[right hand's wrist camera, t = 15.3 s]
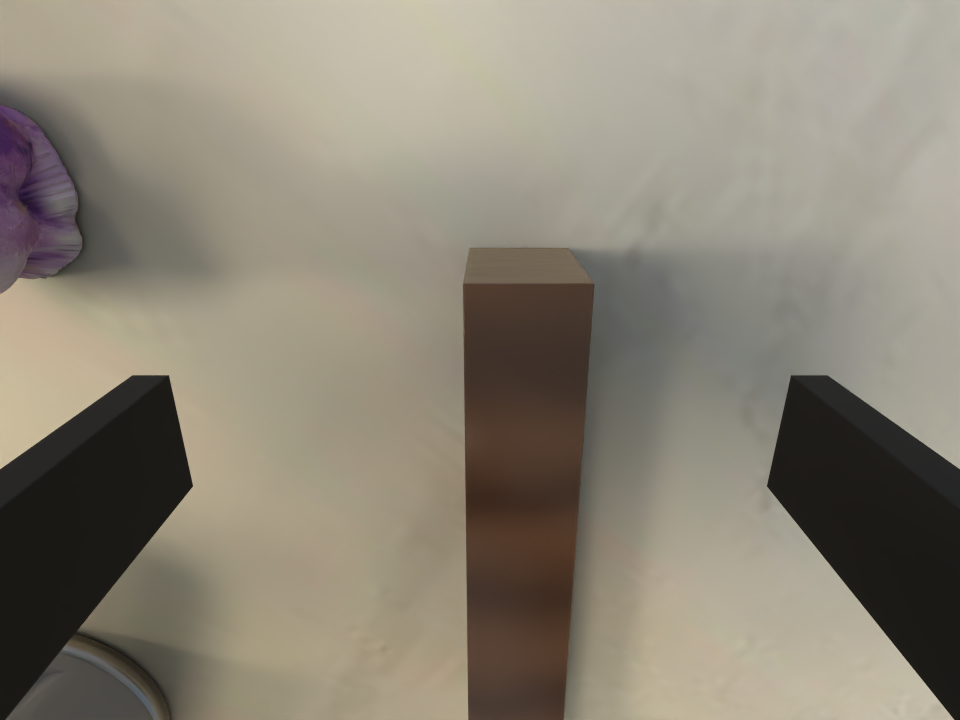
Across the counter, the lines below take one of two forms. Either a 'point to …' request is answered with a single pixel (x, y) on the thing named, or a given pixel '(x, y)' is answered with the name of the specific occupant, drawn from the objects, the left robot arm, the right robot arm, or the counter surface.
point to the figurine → (33, 203)
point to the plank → (522, 473)
